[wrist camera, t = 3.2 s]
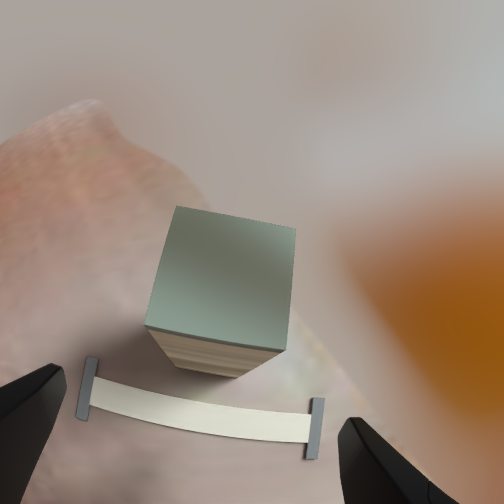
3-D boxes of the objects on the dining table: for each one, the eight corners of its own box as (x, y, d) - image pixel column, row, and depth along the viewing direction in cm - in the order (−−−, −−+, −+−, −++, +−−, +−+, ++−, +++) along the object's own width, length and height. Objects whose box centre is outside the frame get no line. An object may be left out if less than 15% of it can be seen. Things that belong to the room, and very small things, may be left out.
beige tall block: (237, 378, 19) (286, 349, 8) (175, 367, 19) (144, 324, 8) (245, 320, 21) (295, 228, 10) (187, 309, 21) (176, 206, 10)
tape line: (323, 398, 19) (324, 398, 19) (316, 458, 17) (317, 459, 17) (88, 356, 18) (87, 355, 18) (77, 417, 16) (75, 417, 16)
